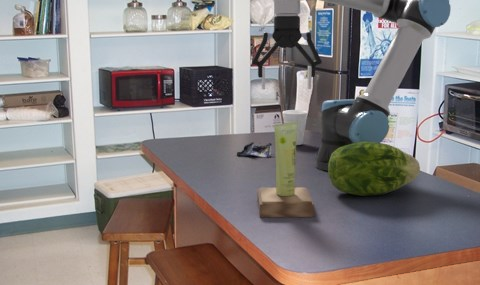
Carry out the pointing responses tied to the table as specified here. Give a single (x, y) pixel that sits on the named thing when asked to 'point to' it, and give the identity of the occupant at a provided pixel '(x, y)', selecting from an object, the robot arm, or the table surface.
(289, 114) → the cup
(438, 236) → the table surface
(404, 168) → the lettuce
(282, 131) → the tube
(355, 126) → the robot arm
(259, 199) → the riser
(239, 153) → the snack package
